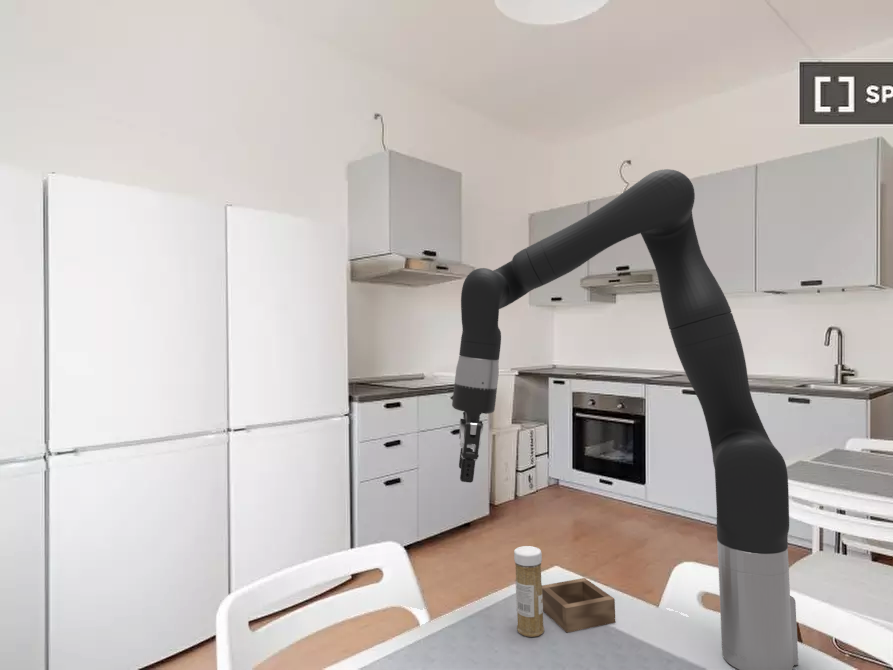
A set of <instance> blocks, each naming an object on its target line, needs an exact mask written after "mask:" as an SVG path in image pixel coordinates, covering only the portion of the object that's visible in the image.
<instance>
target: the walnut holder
mask: <svg viewBox="0 0 893 670" xmlns="http://www.w3.org/2000/svg"><path fill="white" fill-rule="evenodd" d="M542 598H543V612H544V613H545V614H546V615H547V616H548V617H549V618H550V619H551V620H552V621H553V622H555V624H557V625H558V626H559V627H560V628H561V629H562V630H563V631H564V632H566V633H572V632H577V631H582V630H587V629H591V628H597V627H600V626H604V625H611V624H615V623H616V602H615V601H616V599H615V597H612V595H610V594H608V593H607V592H606V591H604V590H603V589H602V588H600V587H599V586H597V585H595V583H593V582H591V581H590V580H588V579H587V578H586V577H582V578H577V579H572V580H571V579H570V580H565V581H560V582H555V583H549V584H542Z"/></svg>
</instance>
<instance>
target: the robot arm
mask: <svg viewBox="0 0 893 670" xmlns="http://www.w3.org/2000/svg"><path fill="white" fill-rule="evenodd" d="M695 196H696V195H695V188H694V185H693V183H692V181H691V180H690V178H689V177H688V176H687V175H686V174H684V173H683V172H681V171H679V170H675V169H668V168H667V169H658V170H655V171H653V172H651V173H649V174H647V175H645V177H643V178H641V179H640V180H638V181H637V182H636V183H634V184H633V185H632V186H630V187H629V188H627V189H626V190H625V191H623V192H622V193H620V194H619V195H618V196H616V197H615V198H614V199H612V200H610V201H609V202H608V203H606V204H604V205H603V206H601V207H600V208H598V209H596V210H595V211H593V212H592V213H590V214H588V215H586V216H585V217H583V218H582V219H580V220H578V221H576V222H574V223H573V224H572V223H571V225H569V226H567V227H565V228H563V229H560V230H559V231H557V232H554V233H553V234H551V235H549V236H547V237H545V238H542V239H540V241H537V242H534V243H532V244H531V245H529V246H527V247H525V248H524V249H523V248H522V249H521V250H519V251H518V252H516V253H515V254H514V255H513V256H512V259H511V260H510V261H508V262H507V263H504V264H503V265H501V266H499V267H498V268H496V269H494V270H492V269H490V268H485V267H480V268H476V269H474V270H472V271H470V272H469V274H467V276H466V277H465V279H464V281H463V284H462V288H461V293H460V294H461V296H460V309H461V310H460V313H461V314H460V315H461V316H460V317H461V326H462V331H461V332H462V333H461V337H460V346H459V353H458V354H459V356H458V358H457V359H458V360H457V365H456V367H455V376H454V384H453V393H452V402H451V406H452V408H453V409H454V410H456V411H461V412H462V415H463V417H462V418H459V419H460V420H459V436H458V437H459V438H458V439H459V440H460V441H459V446H460V454H459V461H458V467H459V469H460V475H459V479H460V481H461V482H462V483H473V482H474V475H475V467H476V461H477V460H478V458H479V449H480V448H481V442H482V433H483V431H484V423H483V421H482V420H480V419H481V417H480V416H481V415H482V414H483V415H484V414H485V415H487V414H492V413H494V412H495V409H496V400H497V392H498V383H499V373H500V370H499V369H500V368H499V361H500V354H501V345H502V332H501V329H500V327H499V314H500V310H501V309H504V308H506V307H508V306H509V305H511V304H512V303H515V302H516V301H518V300H519V299H520V298H522V297H524V296H525V295H527V294H528V293H530V292H532V291H533V290H535V289H538V288H540V287H542V286H545V285H547V284H549V283H551V282H553V281H556V280H557V279H559V278H562V277H564V276H565V275H567V274H568V273H571V272H572V271H574V270H576V269H577V268H580V267H581V266H582V265H583V264H585V263H587V262H589V260H591V259H593V258H594V257H596V256H598V254H600V253H602V252H603V251H606V249H609V248H610V247H612V246H614V245H616V244H617V243H620V242H622V241H624V240H626V239H629V238H631V237H634V236H636V235H640V236H641V237H642V239H643V241H644V243H645V246H646V248H647V251H648V253H649V255H650V258H651V259H652V260H651V261H652V263H653V265H654V267H655V271H656V274H657V279H658V285H659V290H660V297H661V301H662V305H663V310H664V314H665V318H666V321H667V325H668V329H669V332H670V335H671V338H672V341H673V344H674V348H675V350H676V354H677V356H678V359H679V360H680V361H679V362H680V364H681V365H682V368H683V371H684V373H685V375H686V378H687V380H688V382H689V383H690V386H691V387H692V389H693V391H694V393H695V395H696V397H697V399H698V401H699V403H700V406H701V409H702V412H703V415H704V420H705V423H706V426H707V432H708V437H709V442H710V447H711V453H712V462H713V463H712V464H713V467H714V479H715V482H714V483H715V500H716V541H717V542H716V543H717V545H716V547H717V561H718V562H717V564H718V584H719V585H718V587H719V610H720V632H721V633H720V634H721V637H720V638H721V653H722V655H721V656H722V657H723V659H724V660H725V661H726V662H727V663H728V664H729V665H731V666H732V667H733V668H735V669H737V670H792V669H793V670H794V667H795V666H798V665H799V651H798V646H799V645H798V628H797V624H798V623H797V609H796V607H797V606H796V599H795V598H794V597H793V596H792V595H791V586H790V568H789V567H790V566H789V549H788V548H789V546H788V545H789V544H788V543H789V541H788V538H789V537H788V535H789V530H790V501H789V499H790V498H789V495H790V494H789V475H788V469H787V464H786V462H785V459H784V457H783V454H781V453H780V451H779V450H778V448H776V447H775V445H774V444H773V442H772V441H771V439H770V437H769V435H768V433H767V430H766V429H765V426H764V424H763V422H762V420H761V418H760V415H759V413H758V411H757V409H756V408H757V407H755V403H754V400H753V397H752V395H751V389H750V385H749V377H748V369H747V363H746V357H745V352H744V348H743V344H742V340H741V336H740V333H739V330H738V326H737V324H736V321H735V318H734V315H733V313H732V309H731V307H730V305H729V302H728V300H727V298H726V296H725V294H724V292H723V290H722V288H721V287H720V284H719V283H718V281H717V279H716V277H715V276H714V274H713V272H712V271H711V269H710V267H709V266H708V264H707V262H706V260H705V258H704V255H703V253H702V250H701V247H700V244H699V240H698V239H699V238H698V236H697V232H696V228H695V227H696V226H695V223H694V216H693V208H694V205H695V199H696V198H695ZM794 665H795V666H794ZM793 666H794V667H793Z"/></svg>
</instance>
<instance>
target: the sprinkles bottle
mask: <svg viewBox="0 0 893 670" xmlns="http://www.w3.org/2000/svg"><path fill="white" fill-rule="evenodd" d="M513 551H514V552H513V557H514V558H513V559H514V563H515V598H516V600H515V601H516V602H515V603H516V612H517V613H516V614H517V615H516V616H517V628H516V629H517V631H518V633H519V634H520V635H522V636H523V637H524V636H525V637H528V638H529V637H531V638H534V637H535V638H536V637H539V636H541V635H542V634H544V632H545V626H544V613H543V612H544V611H543V598H542V585H543V583H542V562H543V557H542V556H543V555H542V550H541V549H540V548H539V547H536V546H532V545H531V546H530V545H522V546H518V547H516V548H515V549H514V550H513Z"/></svg>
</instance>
